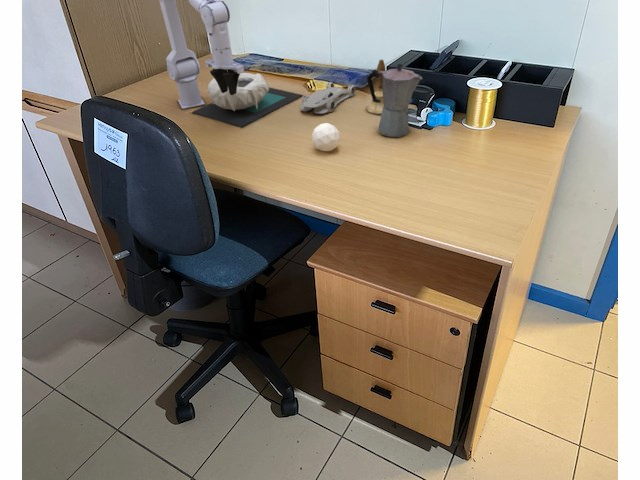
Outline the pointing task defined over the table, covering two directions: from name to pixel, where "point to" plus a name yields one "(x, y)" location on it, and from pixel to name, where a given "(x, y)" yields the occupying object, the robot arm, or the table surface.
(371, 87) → the moka pot
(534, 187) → the table surface
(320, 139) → the ball
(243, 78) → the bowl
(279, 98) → the mat
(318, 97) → the car model
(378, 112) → the hand bell
